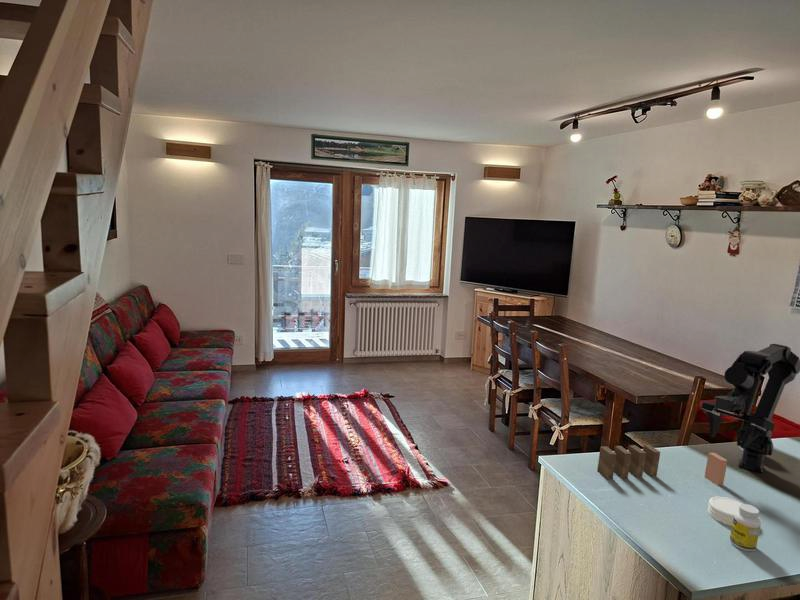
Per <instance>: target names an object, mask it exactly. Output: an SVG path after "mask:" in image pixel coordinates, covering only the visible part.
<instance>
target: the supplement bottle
mask: <svg viewBox="0 0 800 600" xmlns="http://www.w3.org/2000/svg"><path fill="white" fill-rule="evenodd" d="M759 515H760V510H759V509H758V508H757V507H755V506H753V505H751V504H748V503H743V504H740V506H739V512H736V513H735V514H734V518H733V524H732V527H731V530H730V535H729V542H730V544H731V545H733V546H734V547H736V548H738V549H739V550H741V551H745V552H755V551H756V550H757V545H758V541H759V534H760V531H761V524H762V523H761V520H760V518H759Z"/></svg>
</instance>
